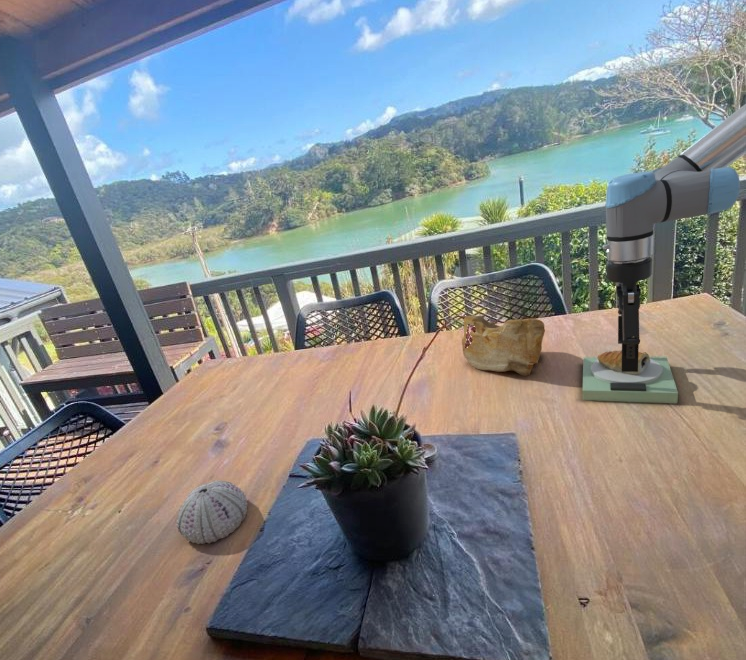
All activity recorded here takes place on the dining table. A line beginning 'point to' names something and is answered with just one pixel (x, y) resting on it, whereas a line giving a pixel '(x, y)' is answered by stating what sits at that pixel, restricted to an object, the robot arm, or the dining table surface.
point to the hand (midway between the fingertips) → (627, 356)
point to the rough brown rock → (504, 344)
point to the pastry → (615, 361)
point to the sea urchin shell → (211, 512)
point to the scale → (629, 383)
